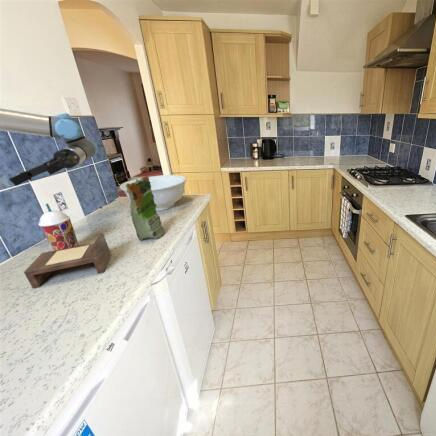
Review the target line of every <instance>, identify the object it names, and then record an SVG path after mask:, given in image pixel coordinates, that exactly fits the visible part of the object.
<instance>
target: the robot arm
mask: <svg viewBox="0 0 436 436" xmlns="http://www.w3.org/2000/svg"><path fill="white" fill-rule="evenodd" d="M0 131H1V132H8V133H16V134H26V135H34V136H42V137H51V138H57V139H63V141H65V143H66V145H67V146H65V147H63V148H61V149H59V150H57V151H55V152H54V153H53V155H52V157H53V158H51V159H49V160H48V161H45V162H43V163H42V164H39V165H37V166H35V167H32V168H30V169H27V170H24V171H22V172H20V173H19V174H17V175H14V176H13V177H10V178H9V179H8V180H9V181H10V182H11V183H12V184H13V185H14V186H16V187H17V186H19V185H21V184H24V183H25V182H27V181H32V178H33V177H36V176H39V175H41V174H44V173H46V172H47V173H48V174H49V175H54V174H55V173H57V172H59V171H61V170H63V169H73V168H75V167H76V166H78V165H83V162H85V161H87V160H89V159H91V158H93V157H94V156H95V155H96V154H98V153H99V146H98V144H97V143H96V142H95V141H93V140H91V139H89V138H87V137H86V136H85V135H84V133H83V132H82V129H81V126H80V125H79V124H78V123H77V122H76V121H75V120H74V118H73V117H72V116H71V115H70V114H69V113H67V112H64V113H60V114H57V115H53V116H49V115H43V114H37V113H31V112H24V111H19V110H12V109H5V108H0Z"/></svg>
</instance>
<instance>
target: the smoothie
mask: <svg viewBox="0 0 436 436" xmlns="http://www.w3.org/2000/svg"><path fill="white" fill-rule="evenodd" d="M45 206H46V208H47V211H46V212H44V213H43V214H42V215H40V217H39V219H38V221H39V222H38V224H37V225H38V226H39V228H40V229H41V231H42V232H43V235H44V236H45V237H46V239H47V241H48V242H49V245H50V246H51V248H52V249H53V251H55V250H60V249H66V248H71V247H76V246H80V243H79V241H78V237H77V234H76V233H75V229H74V226H73V224H72V223H73V222H72V220H71V217H70V216H69V215H67V213H65V212H63V211H60V210H55V209H54V210H52V209H51V207H50V205H49V203H45Z"/></svg>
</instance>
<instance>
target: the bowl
mask: <svg viewBox="0 0 436 436" xmlns="http://www.w3.org/2000/svg"><path fill="white" fill-rule="evenodd" d="M148 177H149V181H150V185H151V191H152V194H153V195H154V203H155V204H156V205H157V206H156V212H158V211H160V212H161V211H165V210H168V209H171V208H173V207H175V205H176V202H178V201H179V200H180V199H181V198H182V197H183V196H184V194H185V185H186V182H187V177H186V176H183V175H176V174H164V175H163V174H162V175H154V176H148ZM141 178H142V177H140V178H136V179H137V180H140V179H141ZM136 179H131V180H128V181H124V182H123V183H121V184H120V185H119V189H120V190H121V191H123V192H124V193H125V196H126V197H127V199H128V200H129V201H130V202H131V200H130V197H129V193H128V192H127V187H126V185H127V184H132V183H134V182H136Z"/></svg>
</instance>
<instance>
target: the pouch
mask: <svg viewBox="0 0 436 436" xmlns="http://www.w3.org/2000/svg"><path fill="white" fill-rule="evenodd" d="M149 177H150V176H143V177H140V178H141V179H140V180H137V179H138V178H136V182H134V183H132V184H127V185H126V187H127V192H128V193H129V197H130V200H131V201H130V200H129V201H130V205H129V208H130V211H131V212H130V217H131V220H132V224H133V227H134V230H135V232H136V237H137V239H138V241H142V240H147V239H155V240H158V239H160V238H162V237H163V236H164V235H165V229H164V227H163V225H162V219H161V217H160V215H159V214H158V213H157V212H158V211H156V206H157V205H156V204H155V203H154V195H153V194H152V191H151V185H150V181H149Z"/></svg>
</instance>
